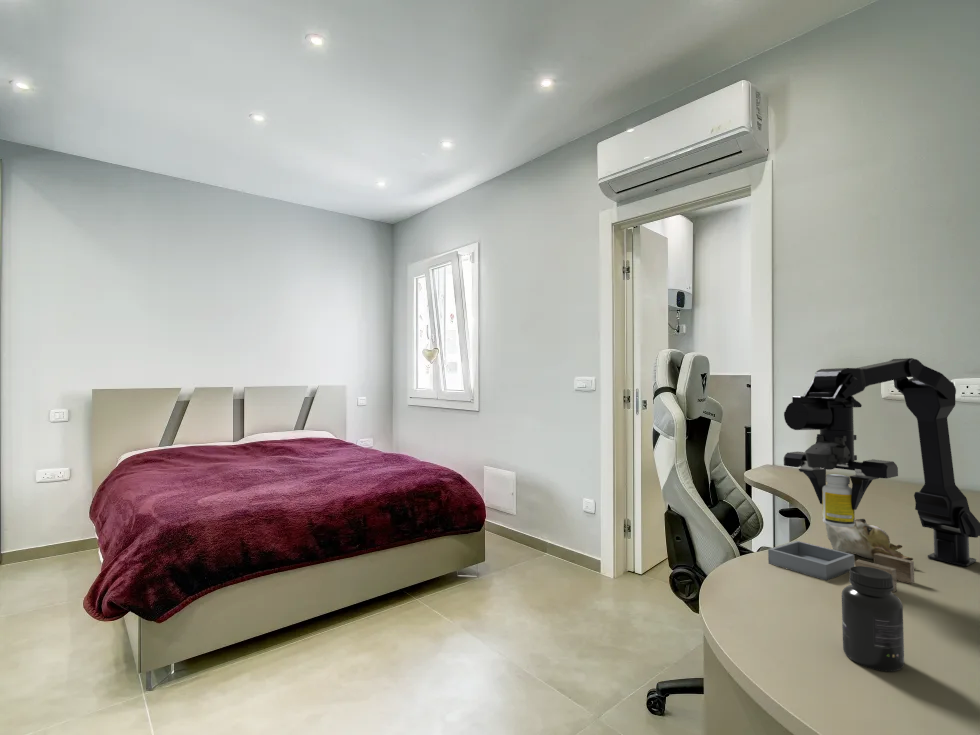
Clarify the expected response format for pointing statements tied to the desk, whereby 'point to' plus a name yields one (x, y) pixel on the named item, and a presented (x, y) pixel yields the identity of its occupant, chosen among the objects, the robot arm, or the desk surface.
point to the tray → (811, 559)
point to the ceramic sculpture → (862, 540)
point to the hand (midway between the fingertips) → (838, 506)
